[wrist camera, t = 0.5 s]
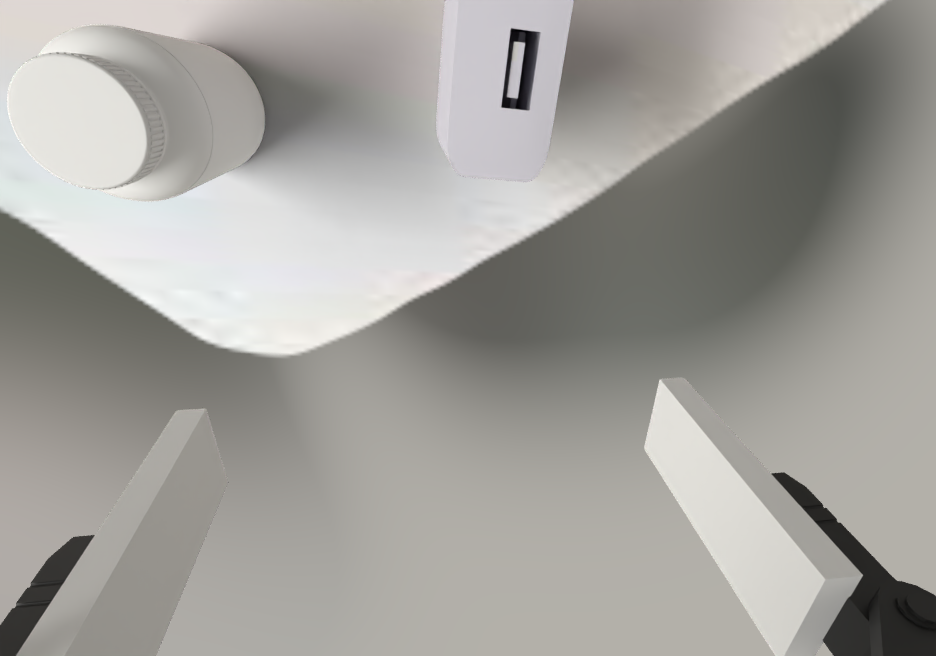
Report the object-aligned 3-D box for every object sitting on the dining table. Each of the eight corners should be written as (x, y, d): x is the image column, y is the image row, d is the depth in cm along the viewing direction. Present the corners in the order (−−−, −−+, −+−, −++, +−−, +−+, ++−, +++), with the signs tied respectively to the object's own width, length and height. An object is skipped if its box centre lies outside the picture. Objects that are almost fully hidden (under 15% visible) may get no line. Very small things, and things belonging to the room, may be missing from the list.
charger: (510, -1, 33) (583, -55, 19) (492, 145, 37) (543, 183, 23) (439, -11, 32) (464, -75, 19) (429, 139, 36) (444, 175, 23)
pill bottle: (265, 51, 32) (168, 31, 19) (270, 175, 36) (192, 232, 23) (133, 31, 31) (-69, -5, 18) (152, 162, 35) (-5, 215, 21)
